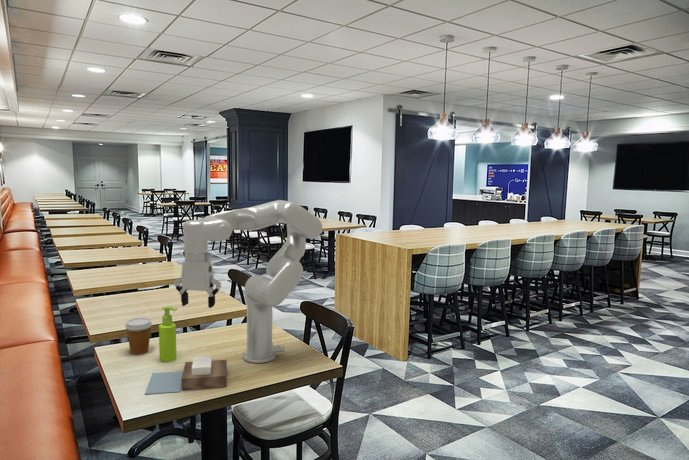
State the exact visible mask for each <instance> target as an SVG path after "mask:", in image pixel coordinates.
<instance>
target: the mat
mask: <svg viewBox="0 0 689 460" xmlns="http://www.w3.org/2000/svg"><path fill="white" fill-rule="evenodd" d="M182 375H183V370H179V371H178V370H177V371H164V372H152V374H151V376H150V379H149V382H148V385H147V387H146V390H145V392H144V396H146V395H147V396H149V395H157V394H158V395H160V394H172V393H180V392H181V390H182V381H181V379H182Z"/></svg>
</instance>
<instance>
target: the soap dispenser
mask: <svg viewBox="0 0 689 460" xmlns="http://www.w3.org/2000/svg"><path fill="white" fill-rule="evenodd" d="M161 310H164V315H162V318H161V321H162V323H160V324H159V325H158V340H159V345H158V347H159V361H160V362H162V363H170V362H174V361H176V360H177V324H176V323H175V322H173V315H172V314H170V311H174V312H176V311H177V310H179V308H177V307H174V306H164V307H162V308H161Z"/></svg>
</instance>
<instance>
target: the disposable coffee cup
mask: <svg viewBox="0 0 689 460" xmlns="http://www.w3.org/2000/svg"><path fill="white" fill-rule="evenodd" d="M152 325H153V322H152V321H151V318H147V317H137V318H131V319H129V320H127V321H126V324H125V325H124V327H125V329H126V334H127V338H128V345H129V350H130V353H131V354H132V355H138V356H139V355H143V354H146V353H148V352H149V348H150V339H151V330H152V329H151V328H152Z"/></svg>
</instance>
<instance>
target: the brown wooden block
mask: <svg viewBox="0 0 689 460" xmlns="http://www.w3.org/2000/svg"><path fill="white" fill-rule="evenodd" d="M192 364H193V361H185V363H184V366H183V370H182V371H183V375H182V379H181V381H182V384H181V391H193V390H206V389H207V390H208V389H220V388H227V379H228V378H227V377H228V375H227V374H228V373H227V372H228V361H227V359H214V360H213V359H212V367H211V374H206V375H192Z"/></svg>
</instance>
